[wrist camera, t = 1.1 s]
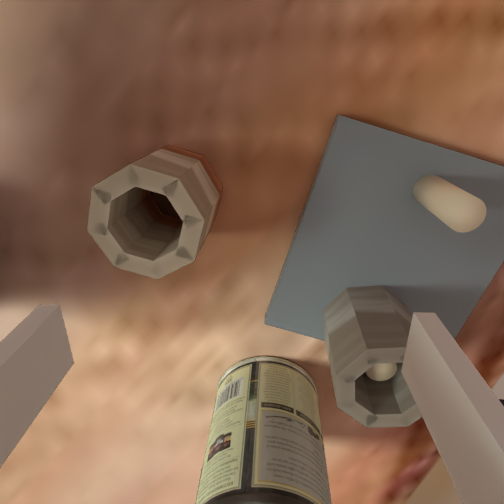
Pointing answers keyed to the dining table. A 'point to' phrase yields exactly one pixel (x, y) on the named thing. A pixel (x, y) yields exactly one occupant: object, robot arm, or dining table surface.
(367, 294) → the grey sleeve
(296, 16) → the dining table surface
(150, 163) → the cream sleeve
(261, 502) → the coffee can
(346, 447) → the dining table surface
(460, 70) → the dining table surface
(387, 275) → the pin board
